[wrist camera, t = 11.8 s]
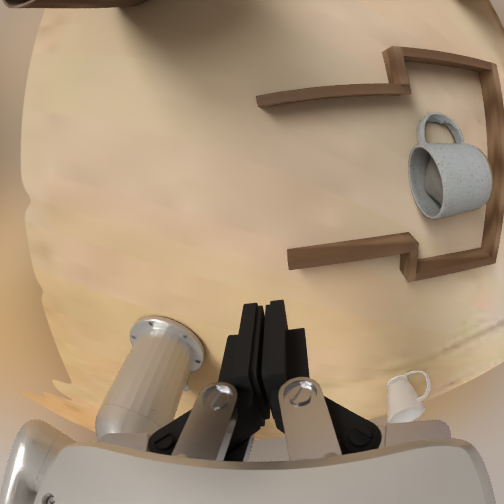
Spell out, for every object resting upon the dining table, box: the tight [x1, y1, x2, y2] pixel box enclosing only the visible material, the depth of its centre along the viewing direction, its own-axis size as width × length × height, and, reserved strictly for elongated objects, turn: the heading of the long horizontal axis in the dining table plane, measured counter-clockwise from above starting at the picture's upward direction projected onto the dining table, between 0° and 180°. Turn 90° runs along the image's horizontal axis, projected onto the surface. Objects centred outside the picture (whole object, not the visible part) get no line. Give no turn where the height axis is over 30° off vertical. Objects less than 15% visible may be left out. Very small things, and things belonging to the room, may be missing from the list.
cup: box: [386, 370, 431, 423], centre depth 38 cm, size 7×10×8 cm
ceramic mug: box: [408, 113, 493, 220], centre depth 22 cm, size 11×8×8 cm
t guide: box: [256, 46, 504, 282], centre depth 25 cm, size 26×29×3 cm
